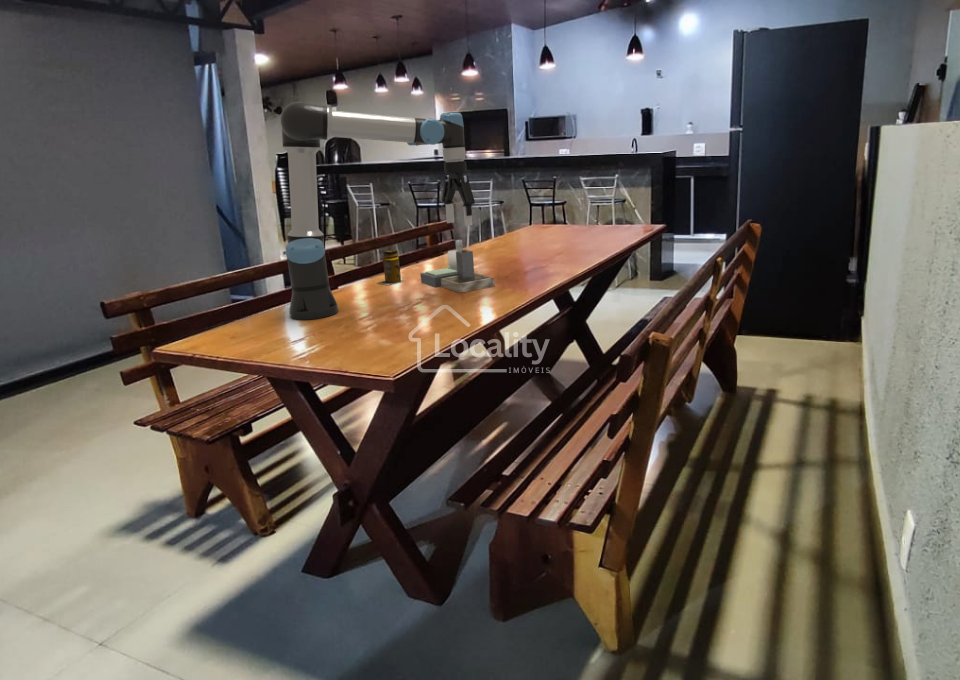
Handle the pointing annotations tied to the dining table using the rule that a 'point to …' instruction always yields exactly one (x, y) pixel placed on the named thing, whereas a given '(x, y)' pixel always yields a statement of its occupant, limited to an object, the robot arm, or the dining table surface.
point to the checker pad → (441, 272)
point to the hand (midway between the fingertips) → (459, 224)
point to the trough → (467, 283)
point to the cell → (465, 266)
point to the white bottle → (454, 255)
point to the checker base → (434, 278)
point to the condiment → (391, 268)
